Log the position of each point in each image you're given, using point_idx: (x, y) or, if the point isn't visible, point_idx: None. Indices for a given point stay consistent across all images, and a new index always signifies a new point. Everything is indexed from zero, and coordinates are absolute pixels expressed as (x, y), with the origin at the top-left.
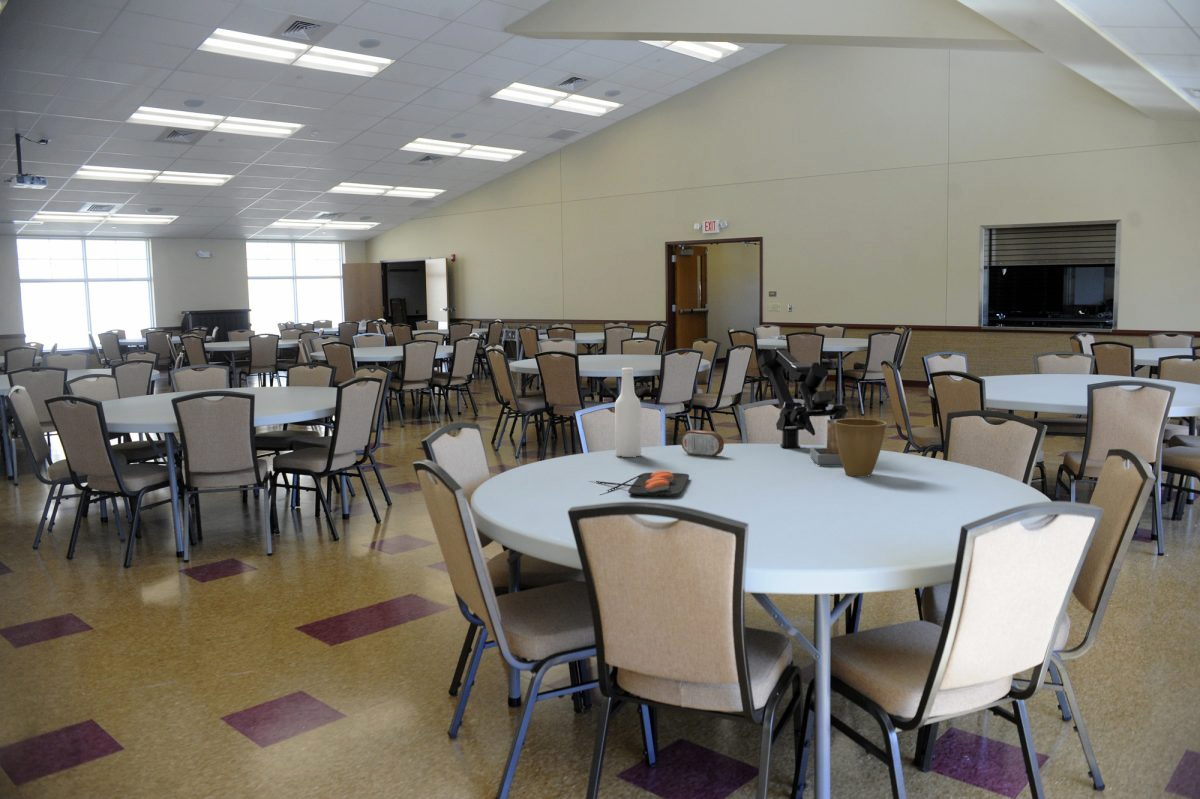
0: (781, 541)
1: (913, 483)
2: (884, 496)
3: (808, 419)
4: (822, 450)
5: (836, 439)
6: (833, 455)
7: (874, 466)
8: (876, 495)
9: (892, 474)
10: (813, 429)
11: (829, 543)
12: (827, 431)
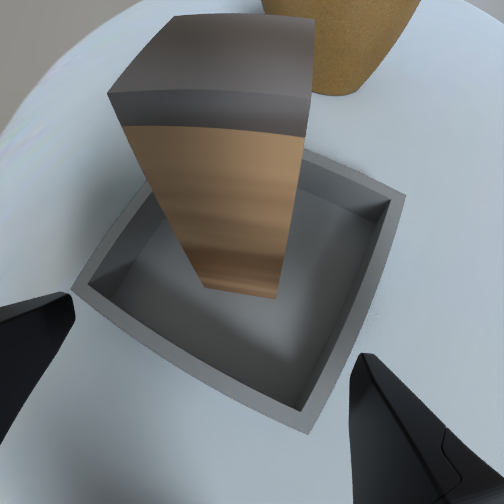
0: (499, 30)
1: None
2: None
3: (469, 495)
4: (240, 381)
5: (415, 9)
6: (329, 161)
7: None
8: None
9: None
10: (383, 379)
11: (470, 12)
12: (293, 205)
